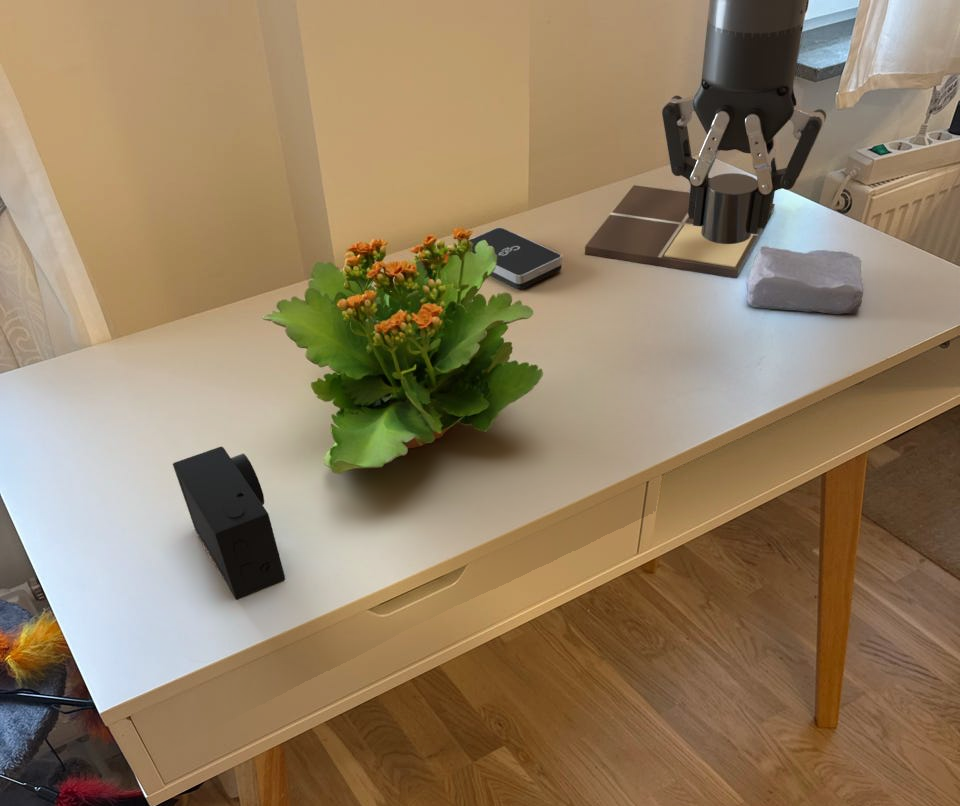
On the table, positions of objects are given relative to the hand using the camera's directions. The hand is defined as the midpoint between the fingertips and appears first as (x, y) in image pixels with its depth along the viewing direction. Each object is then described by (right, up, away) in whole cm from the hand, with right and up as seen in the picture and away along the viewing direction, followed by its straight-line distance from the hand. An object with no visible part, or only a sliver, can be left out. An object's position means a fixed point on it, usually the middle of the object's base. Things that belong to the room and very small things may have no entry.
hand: (727, 225), depth 89 cm
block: (+12, 0, +16) cm, 20 cm away
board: (+1, +11, +27) cm, 29 cm away
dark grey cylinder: (0, 0, +1) cm, 1 cm away
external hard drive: (-19, +5, +23) cm, 30 cm away
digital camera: (-42, -31, -9) cm, 53 cm away
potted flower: (-30, -17, +3) cm, 34 cm away
